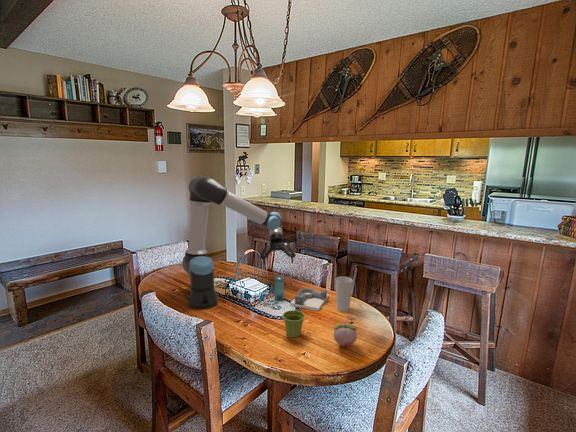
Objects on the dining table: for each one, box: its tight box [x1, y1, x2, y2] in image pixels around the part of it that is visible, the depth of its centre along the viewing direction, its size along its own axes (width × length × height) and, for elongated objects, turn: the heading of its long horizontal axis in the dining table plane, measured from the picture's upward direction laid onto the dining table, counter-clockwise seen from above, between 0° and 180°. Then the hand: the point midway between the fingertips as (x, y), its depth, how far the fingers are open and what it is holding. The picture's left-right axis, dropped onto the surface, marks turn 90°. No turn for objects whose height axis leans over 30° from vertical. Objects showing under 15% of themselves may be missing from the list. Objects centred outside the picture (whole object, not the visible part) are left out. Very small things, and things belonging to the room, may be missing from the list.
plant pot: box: [282, 309, 306, 338], centre depth 137 cm, size 9×9×9 cm
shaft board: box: [289, 288, 330, 312], centre depth 169 cm, size 18×15×5 cm
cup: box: [334, 275, 354, 313], centre depth 159 cm, size 8×8×16 cm
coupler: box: [274, 275, 285, 302], centre depth 171 cm, size 5×5×12 cm
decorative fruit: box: [332, 322, 358, 347], centre depth 129 cm, size 9×8×10 cm
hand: (278, 269), depth 178 cm, fingers open, 13 cm apart
